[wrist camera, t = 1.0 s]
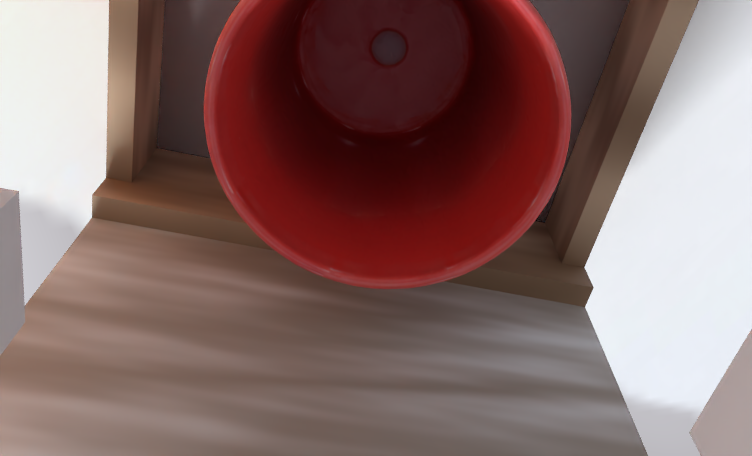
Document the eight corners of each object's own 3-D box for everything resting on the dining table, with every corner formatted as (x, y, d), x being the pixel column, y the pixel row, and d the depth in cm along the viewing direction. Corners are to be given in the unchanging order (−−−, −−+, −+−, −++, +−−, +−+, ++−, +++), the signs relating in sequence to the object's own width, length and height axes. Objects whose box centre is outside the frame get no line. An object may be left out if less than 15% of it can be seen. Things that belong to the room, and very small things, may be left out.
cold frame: (148, -228, 24) (-504, -398, 6) (693, -95, 26) (1355, 55, 8) (131, 208, 32) (-168, 649, 15) (542, 283, 34) (709, 754, 17)
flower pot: (504, -127, 25) (566, -108, 17) (525, 148, 30) (580, 268, 22) (224, -72, 26) (148, -28, 18) (291, 184, 31) (257, 313, 23)
